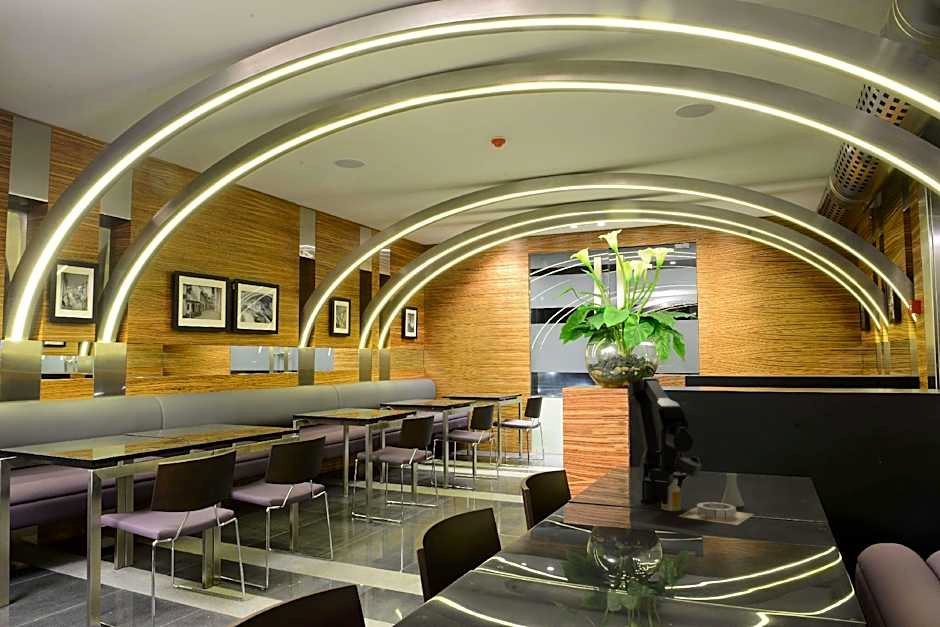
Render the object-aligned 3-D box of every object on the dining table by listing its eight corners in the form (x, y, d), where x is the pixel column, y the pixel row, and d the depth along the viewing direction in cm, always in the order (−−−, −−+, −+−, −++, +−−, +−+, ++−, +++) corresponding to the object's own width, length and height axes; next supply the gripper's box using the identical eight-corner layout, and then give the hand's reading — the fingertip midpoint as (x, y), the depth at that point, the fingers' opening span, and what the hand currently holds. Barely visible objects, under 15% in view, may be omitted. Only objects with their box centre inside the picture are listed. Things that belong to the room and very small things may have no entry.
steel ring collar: (692, 515, 185) (692, 506, 185) (704, 509, 193) (704, 500, 193) (729, 521, 179) (728, 511, 179) (740, 514, 187) (739, 505, 187)
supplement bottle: (681, 511, 196) (680, 477, 196) (680, 515, 191) (679, 480, 191) (662, 509, 197) (661, 476, 198) (661, 513, 192) (660, 479, 193)
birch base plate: (677, 519, 185) (677, 516, 185) (697, 509, 197) (697, 506, 197) (737, 528, 175) (737, 524, 175) (754, 517, 187) (754, 514, 188)
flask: (741, 505, 204) (740, 472, 205) (748, 510, 197) (747, 476, 198) (716, 504, 205) (716, 471, 206) (723, 509, 198) (722, 475, 198)
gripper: (685, 453, 183) (686, 511, 182) (708, 446, 198) (709, 500, 197) (647, 450, 190) (648, 505, 189) (671, 443, 205) (672, 495, 204)
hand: (671, 501), depth 194 cm, fingers open, 9 cm apart
